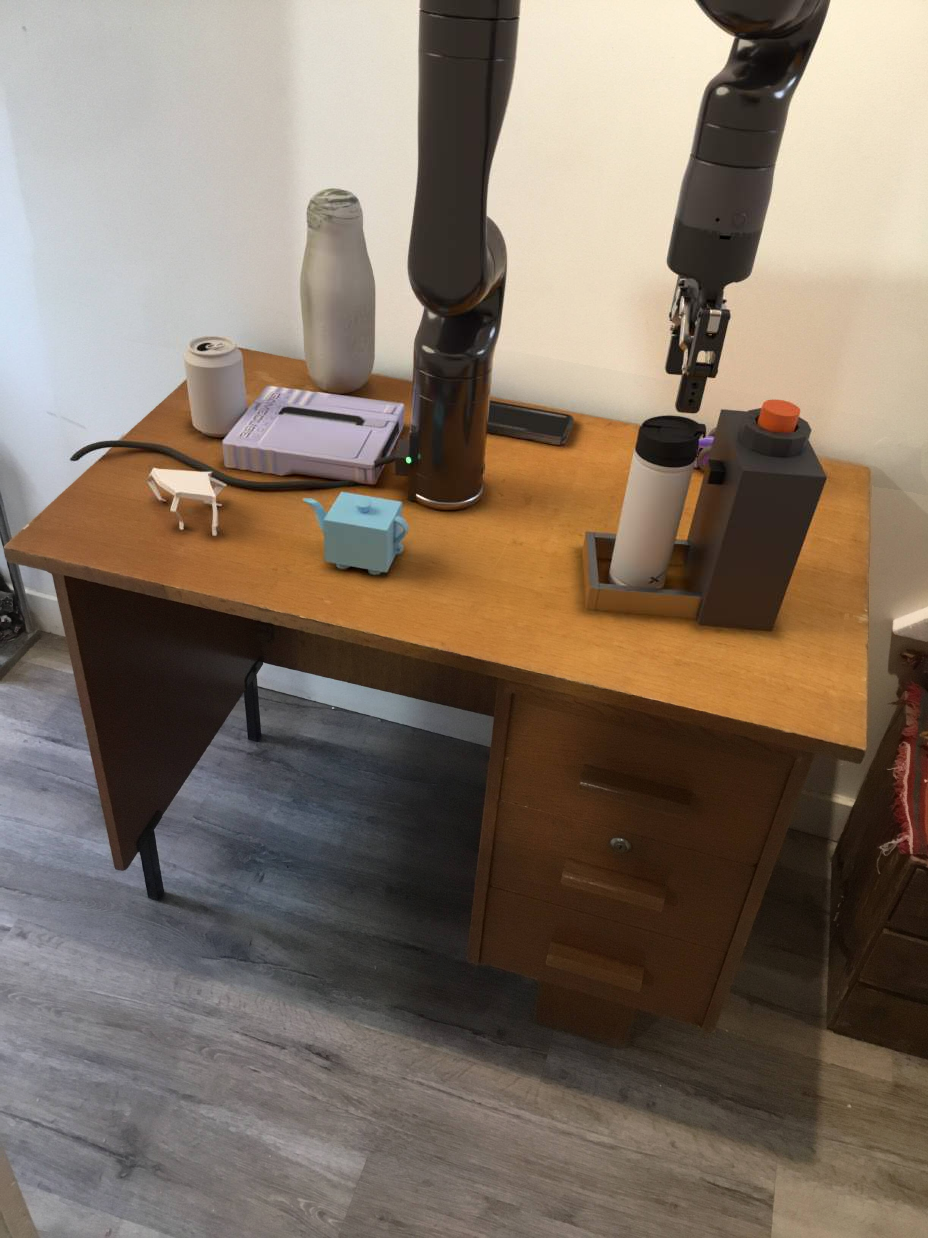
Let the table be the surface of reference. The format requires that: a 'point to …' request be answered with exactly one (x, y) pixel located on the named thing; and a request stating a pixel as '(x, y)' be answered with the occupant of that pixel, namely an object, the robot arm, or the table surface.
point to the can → (215, 384)
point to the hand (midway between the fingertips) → (680, 391)
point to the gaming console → (314, 435)
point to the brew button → (779, 416)
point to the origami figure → (187, 489)
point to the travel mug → (654, 500)
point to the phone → (529, 423)
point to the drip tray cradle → (641, 597)
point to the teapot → (361, 531)
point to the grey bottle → (337, 294)
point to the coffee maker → (752, 521)
